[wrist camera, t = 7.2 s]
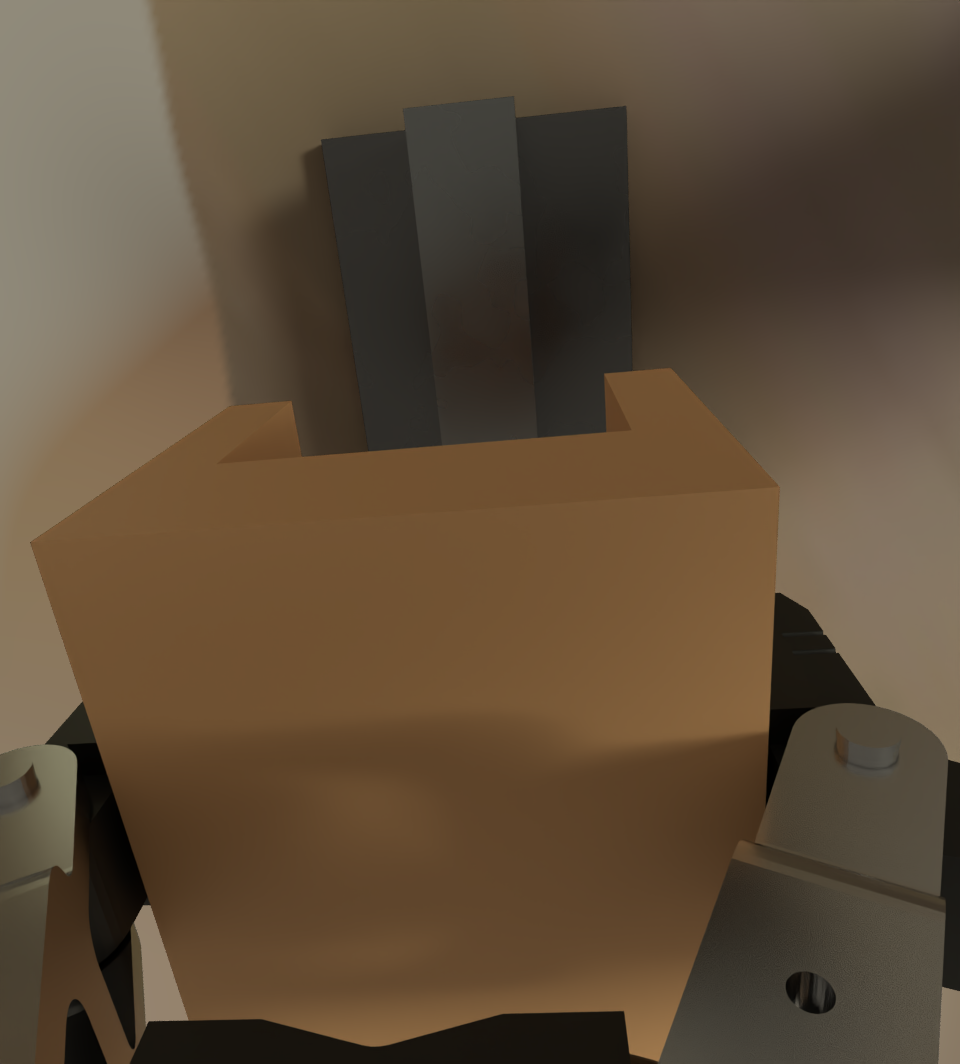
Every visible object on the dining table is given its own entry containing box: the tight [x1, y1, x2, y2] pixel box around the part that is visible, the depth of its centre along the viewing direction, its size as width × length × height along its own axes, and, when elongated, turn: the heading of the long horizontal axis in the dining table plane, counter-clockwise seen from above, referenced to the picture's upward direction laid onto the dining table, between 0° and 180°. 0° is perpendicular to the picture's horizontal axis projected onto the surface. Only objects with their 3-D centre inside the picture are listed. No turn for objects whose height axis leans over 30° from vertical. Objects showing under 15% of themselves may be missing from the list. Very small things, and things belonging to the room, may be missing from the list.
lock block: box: [30, 368, 780, 1062], centre depth 10 cm, size 7×6×5 cm
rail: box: [321, 96, 632, 452], centre depth 24 cm, size 16×9×6 cm, turn 5°
